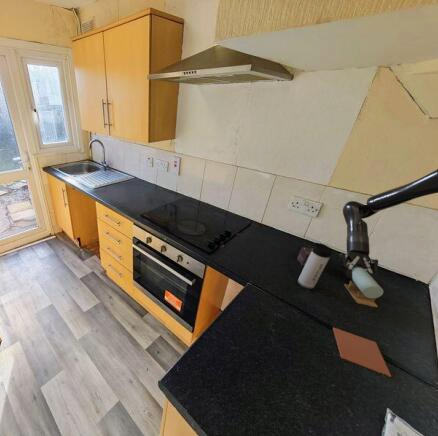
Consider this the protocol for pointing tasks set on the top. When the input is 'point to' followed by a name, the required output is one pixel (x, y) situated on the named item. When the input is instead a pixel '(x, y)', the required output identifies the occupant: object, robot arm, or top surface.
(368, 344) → the plate
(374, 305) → the drying stand
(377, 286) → the pale blue bottle
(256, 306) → the top surface
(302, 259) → the box
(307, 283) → the travel mug
